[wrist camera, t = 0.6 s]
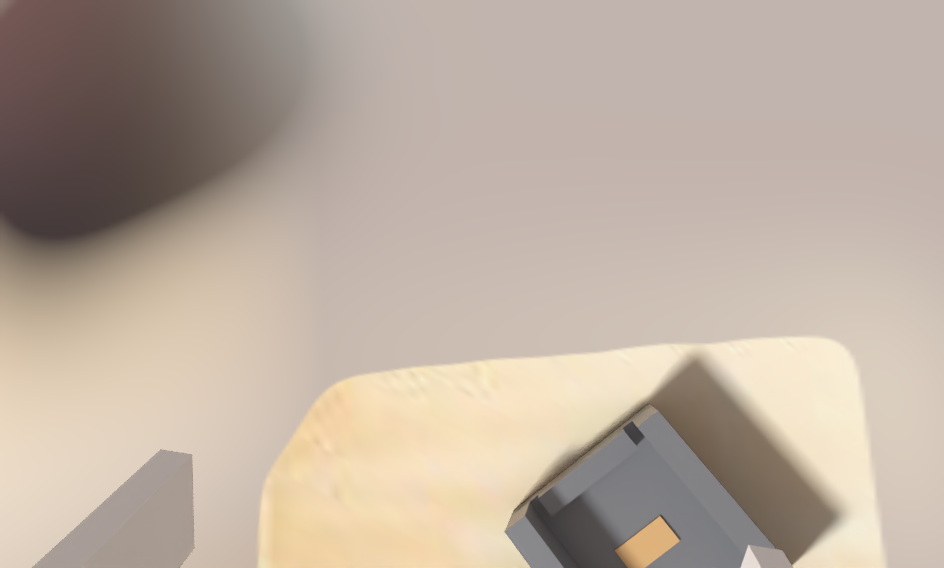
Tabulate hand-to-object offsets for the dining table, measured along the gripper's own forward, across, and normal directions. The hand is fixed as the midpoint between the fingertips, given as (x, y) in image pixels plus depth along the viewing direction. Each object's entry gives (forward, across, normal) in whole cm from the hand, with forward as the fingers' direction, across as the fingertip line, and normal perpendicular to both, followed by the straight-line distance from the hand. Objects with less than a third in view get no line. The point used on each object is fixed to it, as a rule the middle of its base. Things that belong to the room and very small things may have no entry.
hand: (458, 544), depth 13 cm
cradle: (+22, -14, +17) cm, 31 cm away
